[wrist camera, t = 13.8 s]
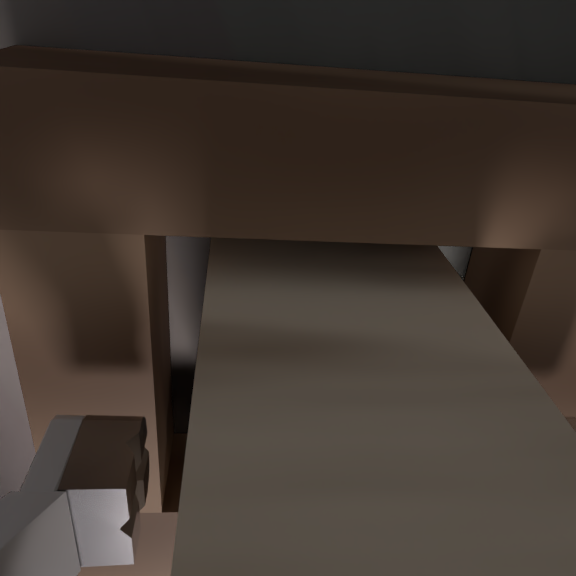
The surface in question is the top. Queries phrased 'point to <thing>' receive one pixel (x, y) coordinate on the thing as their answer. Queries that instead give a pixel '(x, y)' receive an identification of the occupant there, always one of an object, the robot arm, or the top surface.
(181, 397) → the top surface
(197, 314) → the top surface
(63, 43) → the top surface
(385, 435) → the birch block
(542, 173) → the holder
